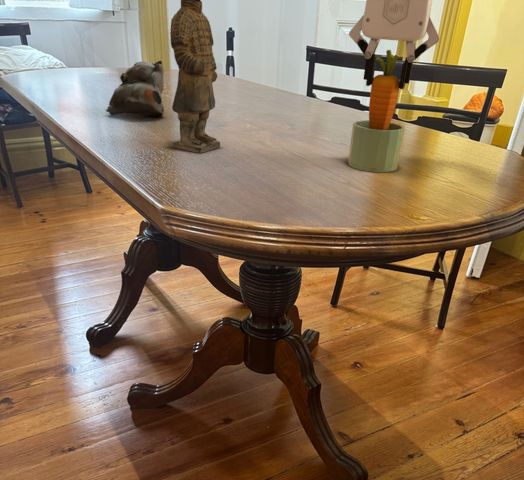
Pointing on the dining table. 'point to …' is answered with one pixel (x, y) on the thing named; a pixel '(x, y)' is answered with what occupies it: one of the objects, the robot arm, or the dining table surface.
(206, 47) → the statue
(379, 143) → the holder
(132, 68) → the dark stacked lumps
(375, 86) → the carrot
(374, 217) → the dining table surface
